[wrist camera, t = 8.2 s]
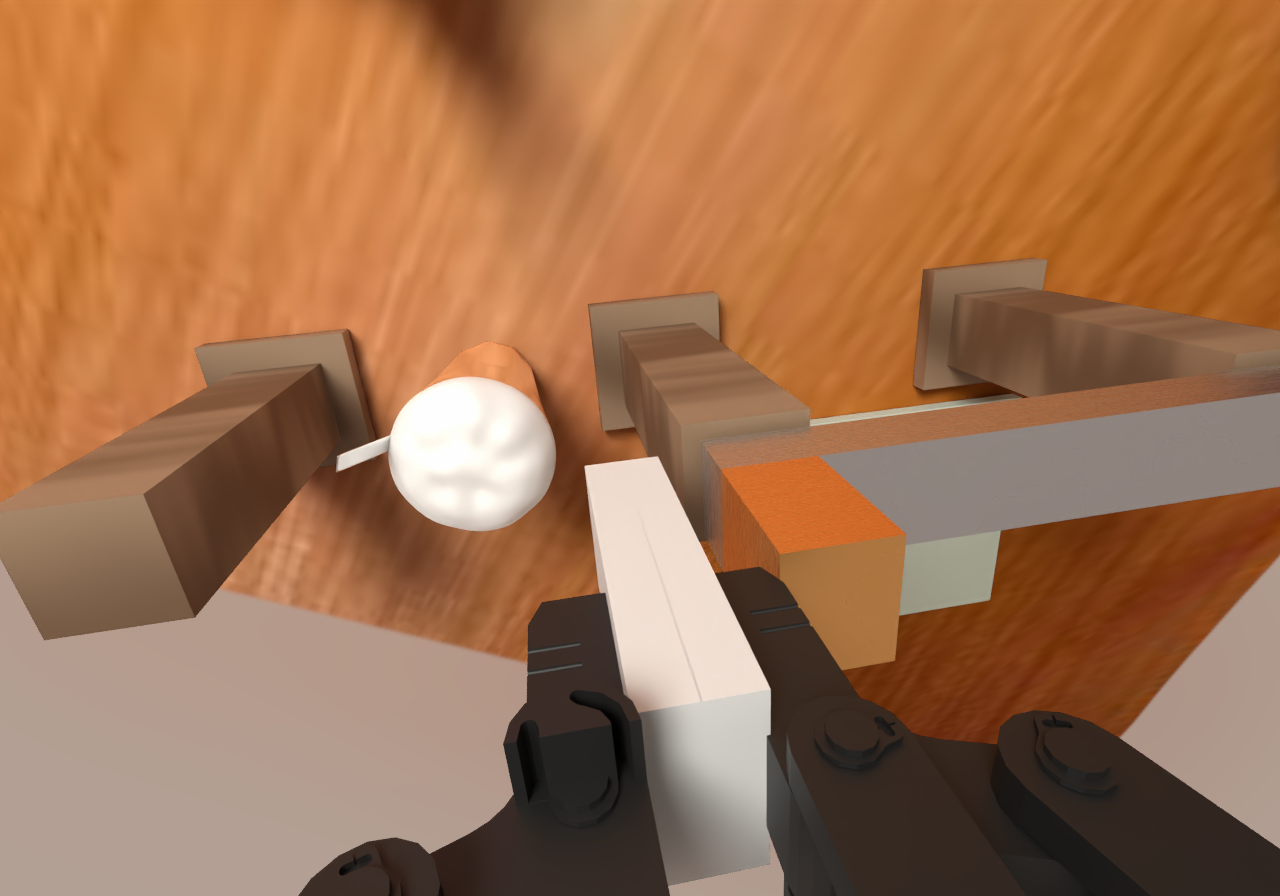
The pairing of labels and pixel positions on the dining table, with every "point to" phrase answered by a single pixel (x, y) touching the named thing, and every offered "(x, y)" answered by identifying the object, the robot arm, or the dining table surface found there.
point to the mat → (942, 544)
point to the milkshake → (471, 443)
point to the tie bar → (970, 484)
